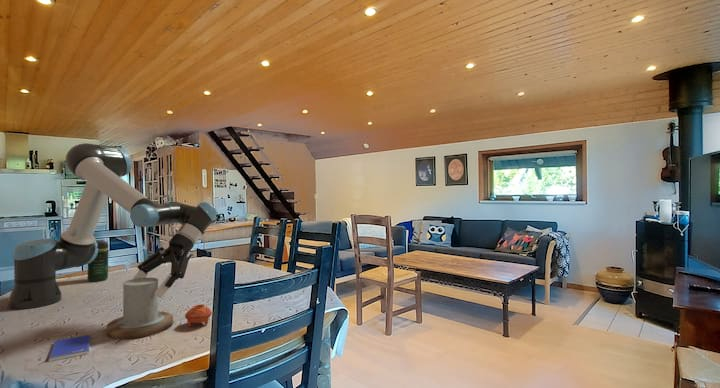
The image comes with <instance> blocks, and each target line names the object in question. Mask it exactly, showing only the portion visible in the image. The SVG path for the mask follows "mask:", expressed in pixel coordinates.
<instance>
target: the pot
mask: <svg viewBox="0 0 720 388" xmlns="http://www.w3.org/2000/svg"><path fill="white" fill-rule="evenodd" d="M212 314H213V311H212V310H211V309H210V308H209V307H208V306H206V305H205V304H196V305H193V306H192V308H189V310H188V311H186V313H185V314H184V317H185V319H186V320H187V321H186V322H187V323H186V324H187V325H188V327H189V328H191V325H192V324H201V323H204V324H205V326H208V323H209V318H210V317H211V316H212Z"/></svg>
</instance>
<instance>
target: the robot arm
mask: <svg viewBox="0 0 720 388" xmlns="http://www.w3.org/2000/svg"><path fill="white" fill-rule="evenodd" d="M132 162H133V160H132V158H131V155H130V154H129V152H128V151H127V150H126V149H124V148H122V147H116V146H113V145H111V146H110V145H101V144H95V143H84V142H83V143H78V144H75V146H73V147H71V148H70V149H69V150H68V152H67V153H66V155H65V164H66V167H67V169H68V171H70V172H71V174H73V175H74V176H75V177H76V178H78V179H79V180H82V181H86V182H85V184H84V188H83V190H82V193H81V196H80V197H79V200H78V203H77V206H76V208H75V211H74V214H73V215H72V219H71V221H70V223H69V226H68V228H67V230H65V231H62V233H61V234H60V237H59V239H58V240H57V241H56V240H55V239H54V238H41V239H40V238H39V239H33V240H28V241H23V242H21V243H19V244H17V245H16V246H15V248H14V251H13V252H14V253H13V259H14V260H13V262H14V263H13V264H14V267H13V268H14V269H13V270H14V273H13V277H14V278H13V279H14V280H13V281H14V283H13V287H12V290H11V292H10V294H9V297H8V298H7V308H9V309H11V310H12V309H14V310H17V309H18V310H22V309H33V308H38V307H43V306H45V307H46V306H48V305H52V304H54V303H55V304H56V303H58V302H60V301H61V300H62V292H61V289H60V287H59V285H58V282H57V280H56V279H57V278H56V275H57V274H56V272H57V271H64V270H68V269H72V268H79V267H80V268H81V267H83V266H85V265H88V264H89V263H91V262H92V261H93V260H94V259H95V258H96V256H97V253H98V248H97V246H98V244H97V242H96V237H95V236H94V234H95V231H96V229H97V227H98V223H99V221H100V218H101V215H102V214H103V210H104V208H105V205H106V203H107V201H108V198H109V199H111V201H113V202H114V203H115V204H117V205H118V206H120V207H121V208H122V209H123V210H125V211H126V212H128V213H129V219H130V221H131V222H132V225H134V226H135V227H138V228H144V227H145V228H150V227H155V226H156V227H157V226H164V225H171V224H172V225H173V224H179V225H181V226H180V227H179V228H178V230H177V231H176V232H175V234H174V235H173V236H171V238H170V240H169V241H168V247H167V248H164V247H163V246H160V247H159V248H158V250H156V251H155V252H154V253H153V254H151V255H150V256H149V257H147V258H146V259H145V260H144V261H142V262H141V263H139V265H138V266H137V269H138V272H137V273H136V274H135V276H134V277H133V279H137V278H147V276H148V274H149V272H151V271H153V270H154V269H156V268H157V267H159V266H162V265H163V264H167V263H169V264H170V263H171V267H170V272H169V274H168V275H167V276H166V277H165V278H164V280H163V281H162V282H161V284H160V285H158V289H157V290H156V292H155V294H156V295H157V296H158V298H161V299H162V298H163V297H164V296H165V295H166V293H167V291H168V290H169V289H170V288H171V287H172V286H173V284H174V283H175V282H176V281H177V280H178V279H184V278H185V275H186V271H187V267H188V265H189V260H191V257H192V256H193V254H192V253H191V252H190V251H192V249H193V248H194V246H195V244H196V243H197V242H198V241H199V240H200V238H201V236H203V234H204V232H205V231H206V230H207V229H208V228H209V226H210V225H211V224H212V223H213V222H214V220H215V218H216V216H217V215H218V211H217V209H216V207H215V206H214V205H213V204H211V203H209V202H206V201H203V202H200V203H199V204H197V206H194V205H191V204H190V205H189V204H186V203H182V202H179V201H173V200H167V201H165V202H163V203H155V202H154V201H153V200H151V199H150V198H148V197H147V196H145V195H144V194H143V193H142V192H140V191H139V190H137V188H135V187H133V185H131V184H130V183H128V182H127V181H126V180H124V178H122V177H124V176H127V175H129V174H130V172H131V170H132V166H133V163H132Z"/></svg>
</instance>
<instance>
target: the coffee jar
mask: <svg viewBox="0 0 720 388" xmlns="http://www.w3.org/2000/svg"><path fill="white" fill-rule="evenodd" d="M95 241H96V242H97V244H98V246H97V248H98V253H97V256H96V258H95V259H94V260H93V261H92V262H91V263H89V264H87V281H88V282H101V281H104V280H105V281H106V280H107V279H108V277H109V243H108V241H105V240H103V239H101V240H100V239H97V240H95Z"/></svg>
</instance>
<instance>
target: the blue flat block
mask: <svg viewBox="0 0 720 388" xmlns="http://www.w3.org/2000/svg"><path fill="white" fill-rule="evenodd" d="M91 336H92V335H91V334H86V335H81V336H73V337H71V338H70V337H69V338H68V337H67V338H63V339H58V340H55V341H54V342H53V345H52V348H51V351H50V354H49V358H48V362H49V363H51V362H53V361H59V360H63V359H69V358H74V357H79V356H85V355H88V354H89V355H90V347H91ZM84 354H85V355H84Z"/></svg>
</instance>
